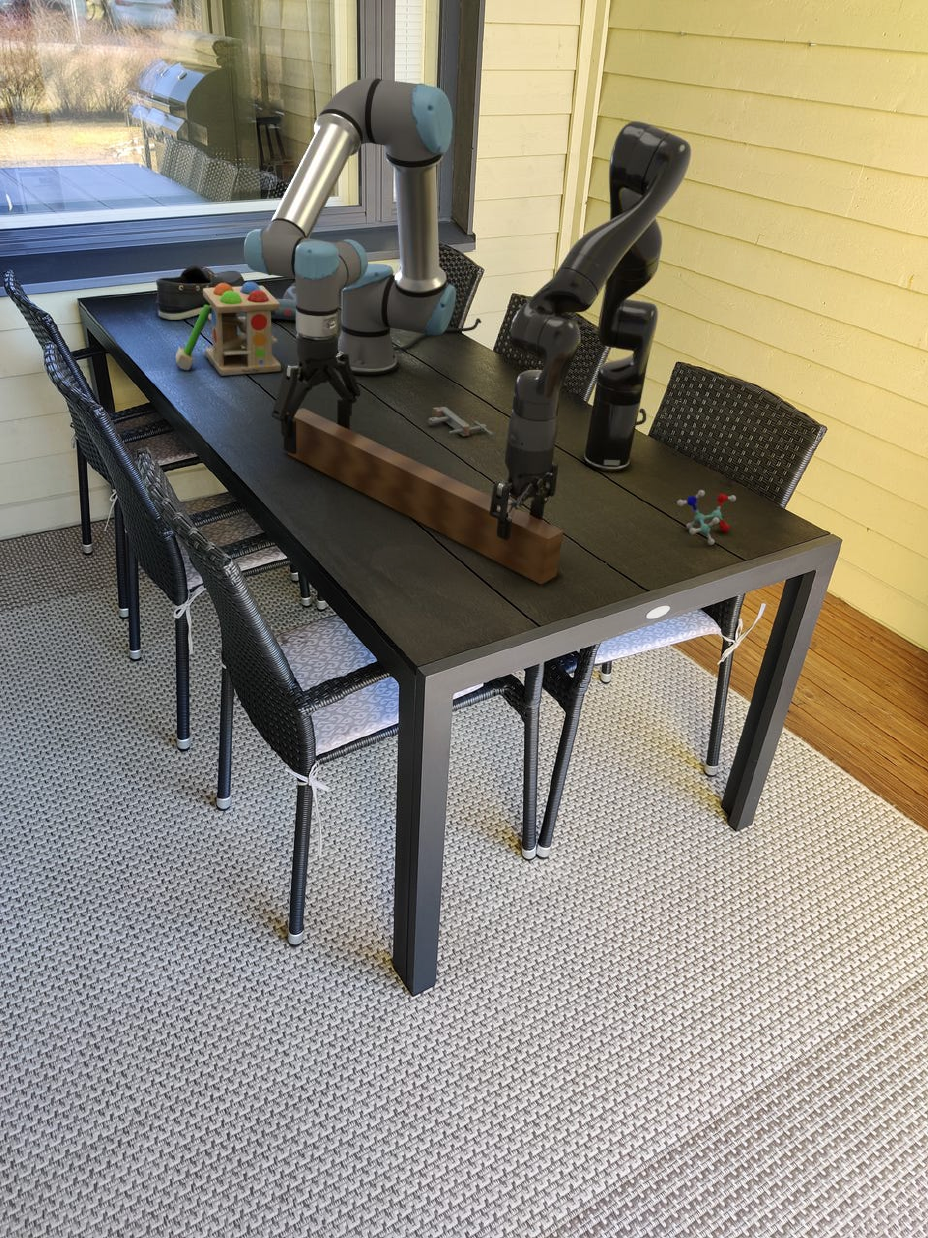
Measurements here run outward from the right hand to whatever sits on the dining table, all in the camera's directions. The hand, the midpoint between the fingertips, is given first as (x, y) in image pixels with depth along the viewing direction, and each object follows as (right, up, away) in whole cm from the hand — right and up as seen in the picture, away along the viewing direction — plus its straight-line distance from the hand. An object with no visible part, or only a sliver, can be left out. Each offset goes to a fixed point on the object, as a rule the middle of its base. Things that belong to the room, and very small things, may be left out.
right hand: (519, 529), depth 162 cm
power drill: (-52, +68, +105) cm, 136 cm away
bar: (-19, +5, +16) cm, 26 cm away
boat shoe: (-80, +70, +103) cm, 148 cm away
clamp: (-11, +26, +48) cm, 56 cm away
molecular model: (+34, +1, +18) cm, 39 cm away
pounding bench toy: (-65, +45, +68) cm, 104 cm away
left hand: (-37, +19, +27) cm, 50 cm away
